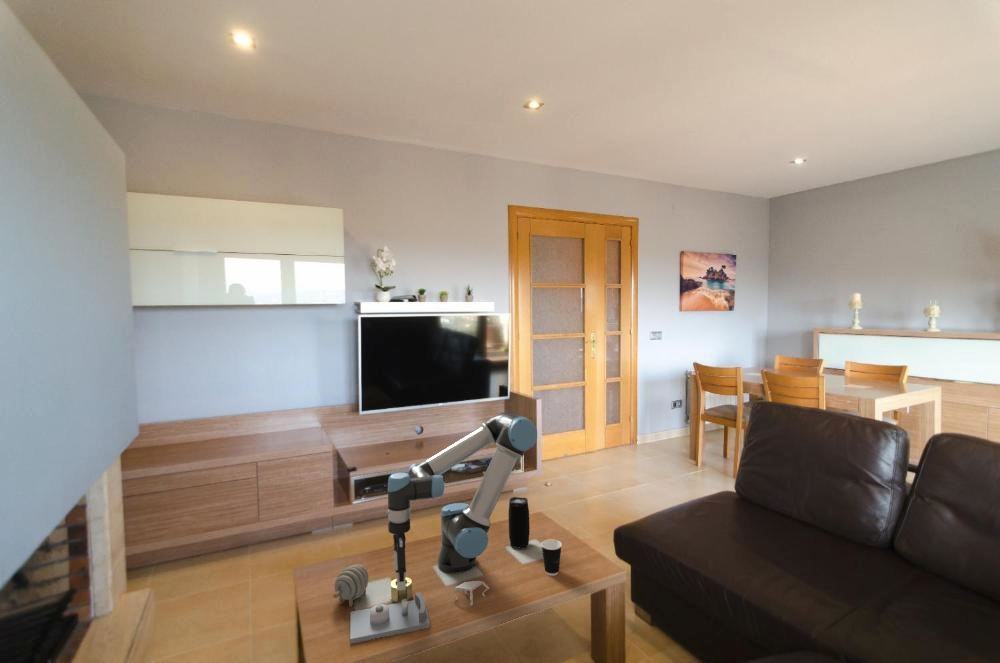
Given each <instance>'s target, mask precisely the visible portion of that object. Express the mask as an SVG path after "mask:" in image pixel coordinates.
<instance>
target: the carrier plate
mask: <svg viewBox="0 0 1000 663" xmlns="http://www.w3.org/2000/svg"><path fill="white" fill-rule="evenodd" d="M349 622H350V624H349V625H350V628H349V631H350V633H349V641H350V643H349V644H352V643H353V644H357V643H362V642H366V641H371V639H372V640H376V639H375V638H377V639H381V638H380V637H382V638H386V637H391V636H395V635H396V634H397V635H401V634H405V633H411V632H416V631H421V630H425V628H426V629H430V627H431V622H430V617H429V614H428V610H427V605H426V600H425V598H424V596H423V595H422V594H421V592H419V591H418V592H416V593H414V599H413V600H412V599H411V600H408V615H407V616H402V602H401V603H399V602H398V603H397V602H395V603H391V604H381V603H380V604H376V605H374V606H372V607H370V608H365V609H364V608H363V609H359V610H354V611H353V610H352V611H350V621H349ZM420 629H421V630H420ZM385 636H386V637H385Z"/></svg>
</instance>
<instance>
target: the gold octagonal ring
mask: <svg viewBox="0 0 1000 663" xmlns="http://www.w3.org/2000/svg"><path fill="white" fill-rule="evenodd" d="M412 581H413V580H412V579H411V578H410V577H407V576H406V590H399V591H397V578H395V579H393V580H391V582H390V594H391V595H390V597H391V601H392V602H394V603H401V602H402V600H403V599H407V600H408V601H410V599H412V597H413V582H412Z"/></svg>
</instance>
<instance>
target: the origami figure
mask: <svg viewBox="0 0 1000 663" xmlns="http://www.w3.org/2000/svg"><path fill="white" fill-rule="evenodd" d="M481 585H483V586H484V587H485V588H486V589H485V590H484V591H483V592H481V595H482V596H483V597H486V595H485V593H486V592H487V591H488V590H489V589H490V587H489V586H488V585H487V584H486V583H485V582H484V581H481V580H478V581H477V580H472V581H471V580H470V581H464V582H463V583H461V584H459V585H457V586H455V587H454V589H453V591H452V593H451V596H454V598H455V601H458V599H459V597H458V596H456V595H455V593H456V592H457V590H458V591H459V590H462V591H464V596H468V595H467V594H468V593H467V592H468V591H469V601H470V604H469V605H470V606H472V605H473V603H474V599H473V591H474V590H475V589H477V588H478V587H480V586H481Z"/></svg>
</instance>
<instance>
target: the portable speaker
mask: <svg viewBox="0 0 1000 663" xmlns="http://www.w3.org/2000/svg"><path fill="white" fill-rule="evenodd" d="M528 502H529V501H528V498H527V497H519V496H513V497H510V498H509V502H508V538H509V542H510V547H511V548H514V547H515V548H518V549H520V550H524V549H526V548H529V544H530V543H529V542H530V531H531V530H530V509H529V503H528Z"/></svg>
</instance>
